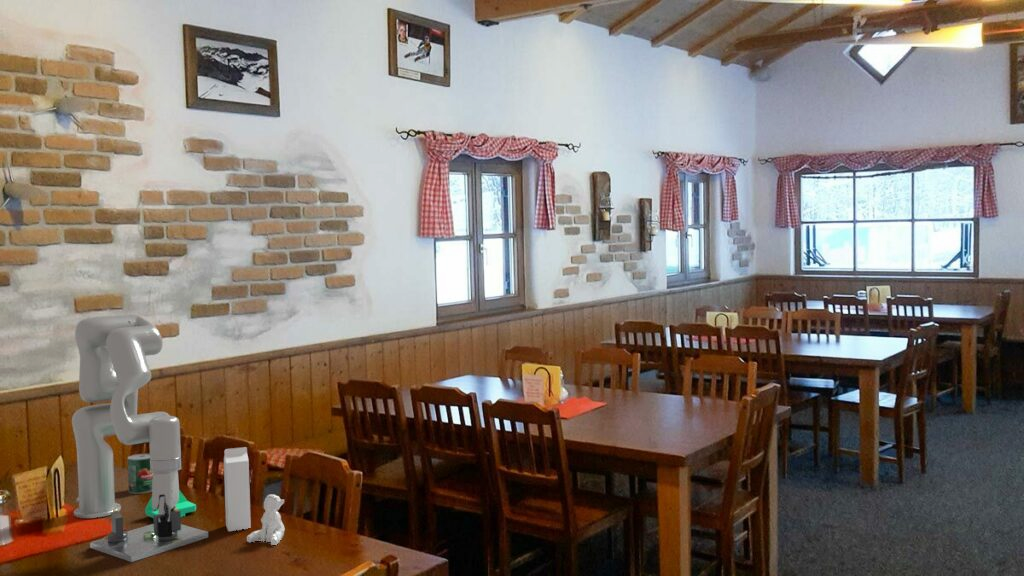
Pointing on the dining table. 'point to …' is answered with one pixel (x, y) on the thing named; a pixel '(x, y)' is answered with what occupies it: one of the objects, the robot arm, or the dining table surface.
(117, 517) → the knob
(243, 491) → the milk
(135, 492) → the canned tomato
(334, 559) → the dining table surface
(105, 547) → the plate
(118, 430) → the robot arm
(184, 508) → the camera mount
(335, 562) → the dining table surface
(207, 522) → the dining table surface
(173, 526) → the knob
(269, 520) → the sitting furry creature
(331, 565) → the dining table surface
